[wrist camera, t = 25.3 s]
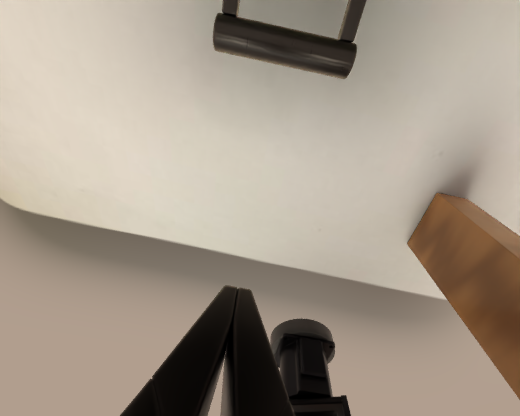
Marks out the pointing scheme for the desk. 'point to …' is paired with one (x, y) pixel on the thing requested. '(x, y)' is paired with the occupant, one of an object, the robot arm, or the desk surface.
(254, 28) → the drawer
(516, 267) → the stand
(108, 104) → the desk surface
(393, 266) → the desk surface
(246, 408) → the robot arm
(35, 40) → the desk surface
